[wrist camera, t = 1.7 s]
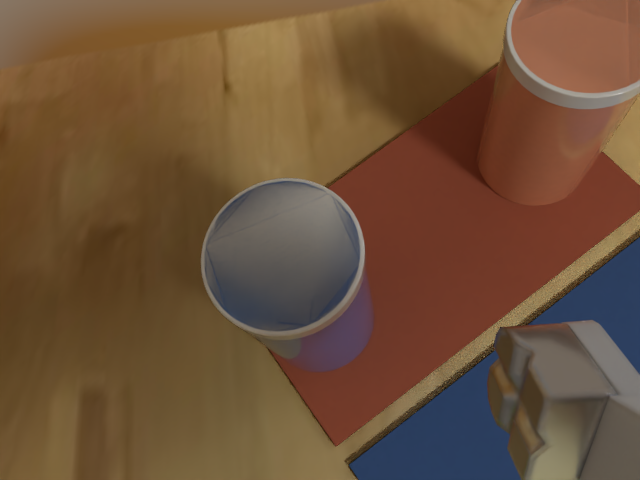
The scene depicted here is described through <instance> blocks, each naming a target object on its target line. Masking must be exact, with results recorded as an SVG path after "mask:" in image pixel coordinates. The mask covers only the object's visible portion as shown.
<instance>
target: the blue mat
mask: <svg viewBox="0 0 640 480" xmlns="http://www.w3.org/2000/svg"><path fill="white" fill-rule="evenodd" d="M586 320H593V321H595V322H597V323H599V324H600V325H601V326H602V328H603V329H604V330H605V331H606V333H607V334H608V335H609V336H610V338H611V339H612V340H613V341H614V343H615V344H616V345H617V347H618V348H619V349H620V350H621V352H622V353H623V354H624V355H625V357H626V358H627V359H628V360H629V362H630V363H631V364H632V366H633V367H634V368H635V369H636V371H637V372H638V373H639V374H640V237H639V238H638V239H636V240H635V241H634V242H633V243H631V244H630V245H629V246H627V247H626V248H625V249H624V250H622V251H621V252H620V253H619V254H617V255H616V256H615V257H613V258H612V259H611V260H610V261H608V262H607V263H606V264H604V265H603V266H602V267H601V268H599V269H598V270H597V271H596V272H594V273H593V274H592V275H590V276H589V277H588V278H587V279H585V280H584V281H583V282H582V283H580V284H579V285H578V286H576V287H575V288H574V289H573V290H571V291H570V292H569V293H567V294H566V295H565V296H564V297H562V298H561V299H560V300H559V301H557V302H556V303H555V304H553V305H552V306H551V307H550V308H548V309H547V310H546V311H545V312H543V313H542V314H541V315H539V316H538V317H537V318H536V319H534V320H533V321H532V322H530V323H529V324H528V325H540V324H555V323H560V324H561V323H562V322H573V321H586ZM498 358H499V356H498V354H497V352H496V350H495V351H493V352H492V353H491V354H490V355H488V356H487V357H486V358H485V359H483V360H482V361H481V362H479V363H478V364H477V365H476V366H474V367H473V368H472V369H470V370H469V371H468V372H467V373H465V374H464V375H463V376H462V377H460V378H459V379H458V380H456V381H455V382H454V383H453V384H451V385H450V386H449V387H448V388H446V389H445V390H444V391H442V392H441V393H440V394H439V395H437V396H436V397H435V398H433V399H432V400H431V401H430V402H428V403H427V404H426V405H425V406H423V407H422V408H421V409H419V410H418V411H417V412H416V413H414V414H413V415H412V416H411V417H409V418H408V419H407V420H405V421H404V422H403V423H402V424H400V425H399V426H398V427H396V428H395V429H394V430H393V431H391V432H390V433H389V434H388V435H386V436H385V437H384V438H382V439H381V440H380V441H379V442H377V443H376V444H375V445H374V446H372V447H371V448H370V449H368V450H367V451H366V452H365V453H363V454H362V455H361V456H359V457H358V458H357V459H356V460H354V461H353V462H352V463H351V464H349V466H350V468H351V469H352V471H353V472H354V474H355V475H356V477H357V478H358V480H521V478H520V476H519V473H518V471H517V469H516V467H515V465H514V462H513V460H512V458H511V456H510V454H509V451H508V449H507V446H508V442H509V438H510V434H508V433H507V432H506V431H504V430H503V429H502V428H500V427H499V426H497V424H496V422H495V419H494V417H493V415H492V412H491V409H490V405H489V401H488V392H487V379H488V373H489V367H490V366H491V365H492V364H493V363H494V362H495V361H496V360H497V359H498Z"/></svg>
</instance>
